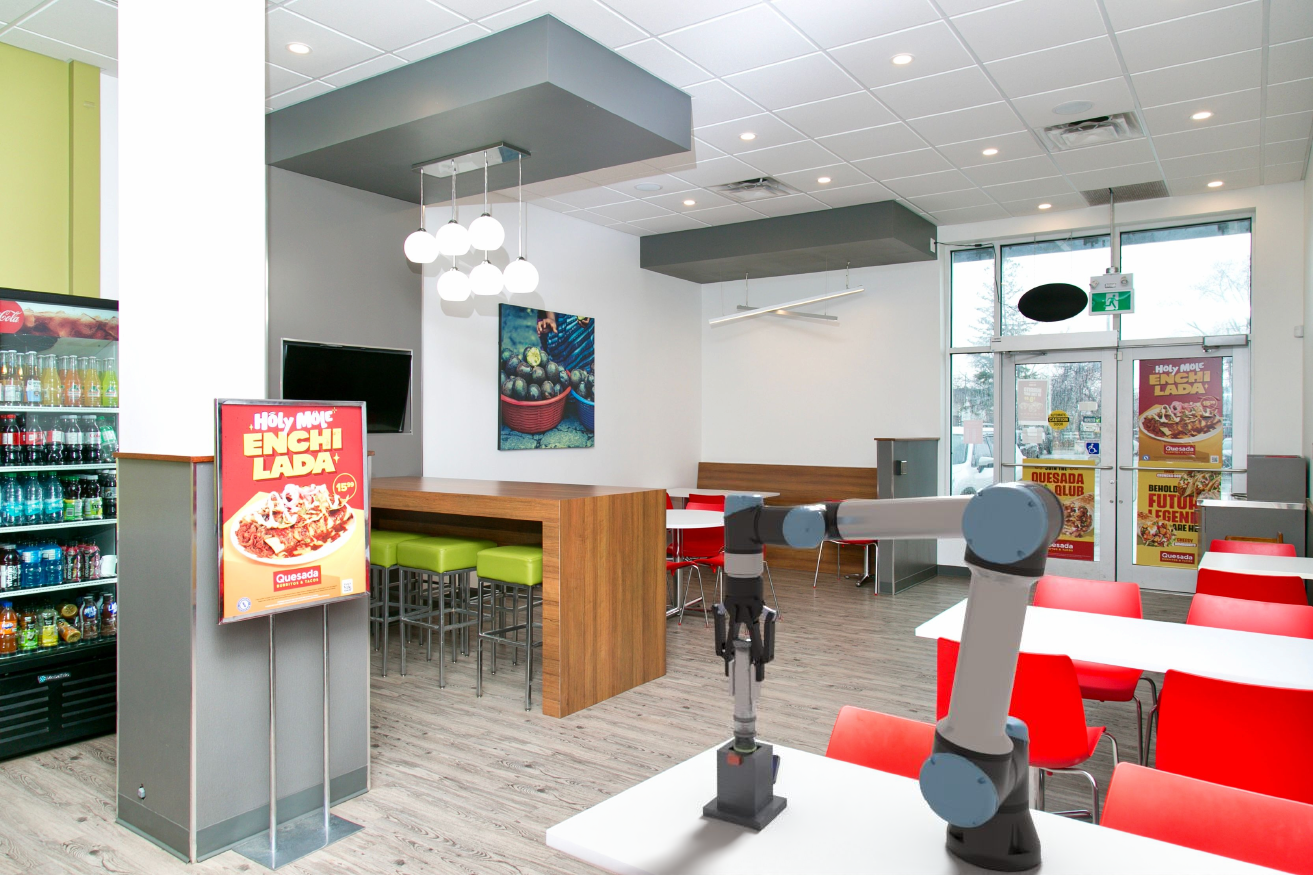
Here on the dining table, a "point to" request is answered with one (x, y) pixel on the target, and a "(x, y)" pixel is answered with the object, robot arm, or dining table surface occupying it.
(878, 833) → the dining table surface
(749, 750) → the column
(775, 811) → the stand base
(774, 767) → the smartphone
